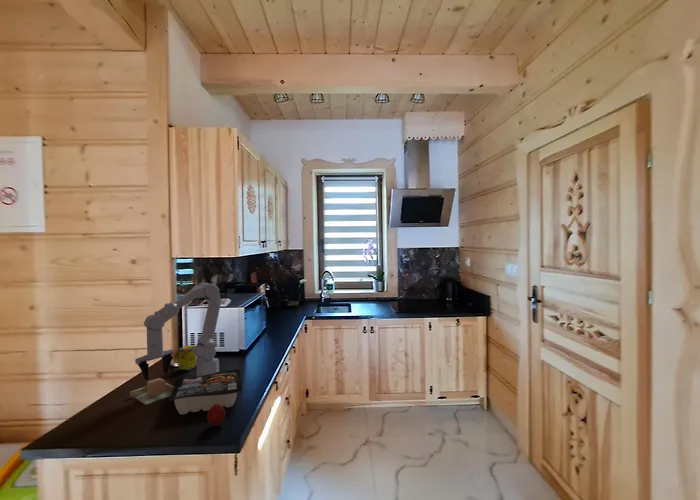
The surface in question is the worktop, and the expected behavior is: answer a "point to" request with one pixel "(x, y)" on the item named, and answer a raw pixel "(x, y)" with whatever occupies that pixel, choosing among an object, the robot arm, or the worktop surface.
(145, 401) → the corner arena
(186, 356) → the supplement box
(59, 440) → the worktop surface
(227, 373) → the food packaging
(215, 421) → the onion
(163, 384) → the terracotta cube
